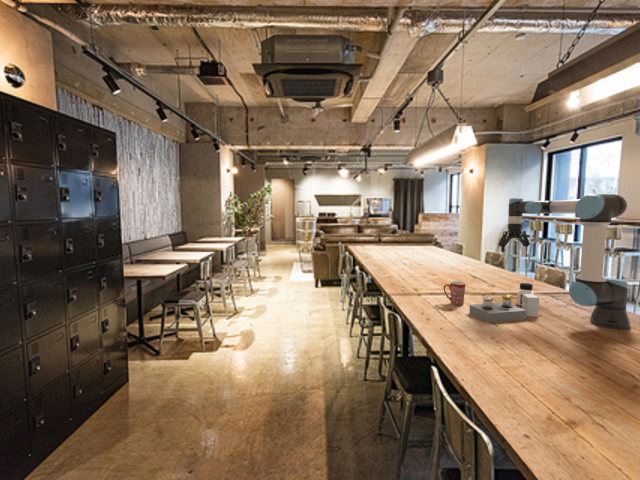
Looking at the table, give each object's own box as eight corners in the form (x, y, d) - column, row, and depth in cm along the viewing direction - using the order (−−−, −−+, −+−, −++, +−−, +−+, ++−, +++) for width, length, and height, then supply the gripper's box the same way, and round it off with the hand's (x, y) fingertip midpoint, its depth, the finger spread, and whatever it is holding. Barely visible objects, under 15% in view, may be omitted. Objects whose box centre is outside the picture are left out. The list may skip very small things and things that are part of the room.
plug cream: (495, 310, 178) (495, 297, 177) (486, 311, 177) (486, 298, 176) (488, 308, 183) (488, 295, 182) (479, 308, 182) (480, 296, 181)
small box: (538, 317, 180) (539, 297, 179) (527, 316, 181) (528, 297, 180) (532, 312, 188) (533, 294, 187) (521, 311, 189) (522, 293, 188)
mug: (465, 303, 208) (466, 281, 206) (464, 307, 200) (465, 284, 198) (444, 300, 213) (444, 280, 212) (442, 304, 205) (442, 283, 204)
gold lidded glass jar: (514, 309, 180) (515, 296, 180) (506, 309, 179) (506, 297, 179) (507, 306, 185) (507, 294, 185) (499, 307, 184) (499, 294, 184)
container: (532, 306, 198) (533, 285, 197) (517, 304, 203) (518, 283, 202) (533, 303, 205) (534, 282, 203) (518, 301, 209) (519, 281, 208)
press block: (526, 319, 176) (526, 310, 176) (489, 323, 172) (489, 313, 171) (503, 310, 192) (503, 302, 191) (469, 313, 187) (469, 304, 187)
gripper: (528, 222, 214) (526, 255, 216) (492, 223, 210) (491, 256, 212) (537, 223, 206) (536, 257, 208) (500, 223, 203) (499, 258, 205)
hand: (513, 257), depth 210 cm, fingers open, 13 cm apart
